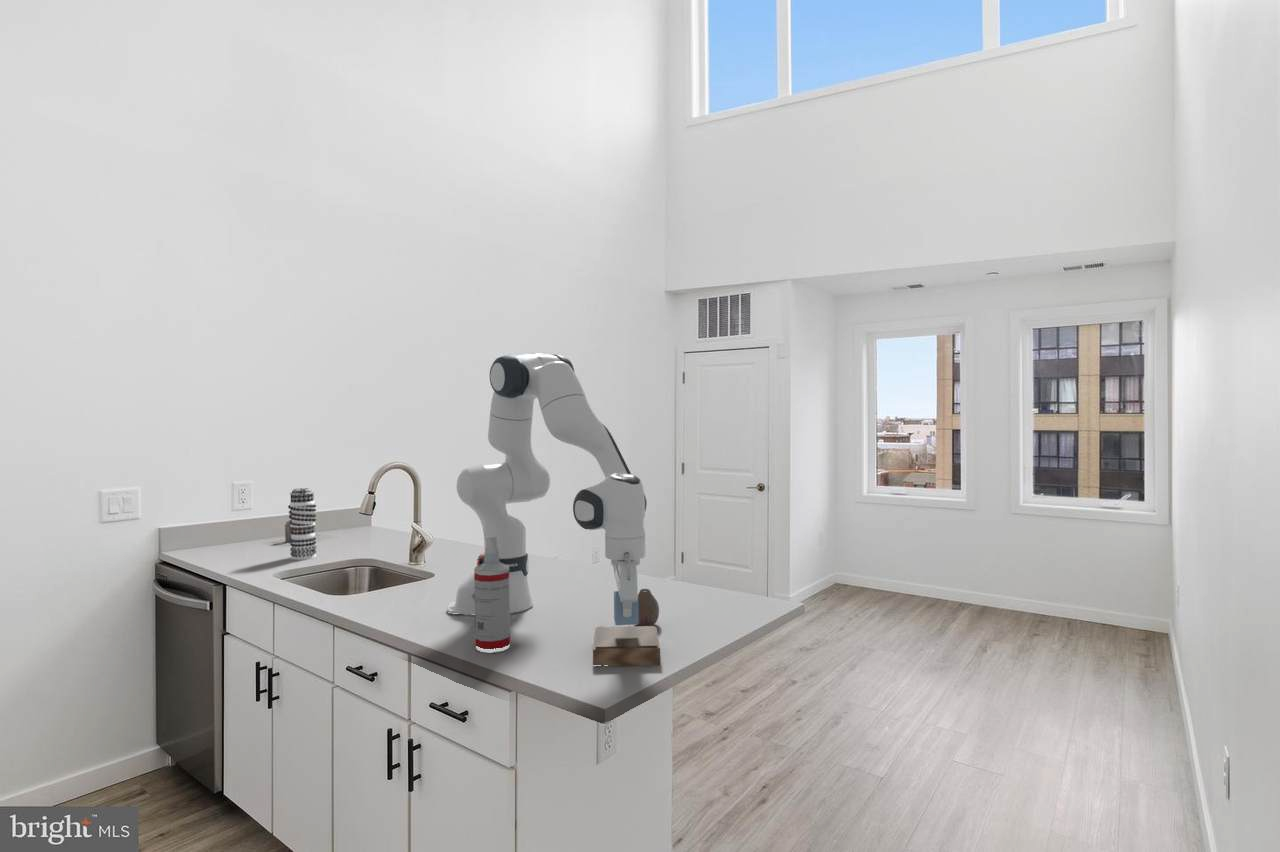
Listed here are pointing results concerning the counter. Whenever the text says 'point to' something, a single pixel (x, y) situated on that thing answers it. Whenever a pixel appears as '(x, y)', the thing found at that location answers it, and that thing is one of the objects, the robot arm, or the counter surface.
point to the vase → (647, 608)
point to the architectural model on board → (289, 532)
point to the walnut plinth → (626, 646)
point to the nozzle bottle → (492, 600)
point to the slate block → (619, 612)
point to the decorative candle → (302, 524)
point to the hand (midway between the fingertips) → (626, 611)
